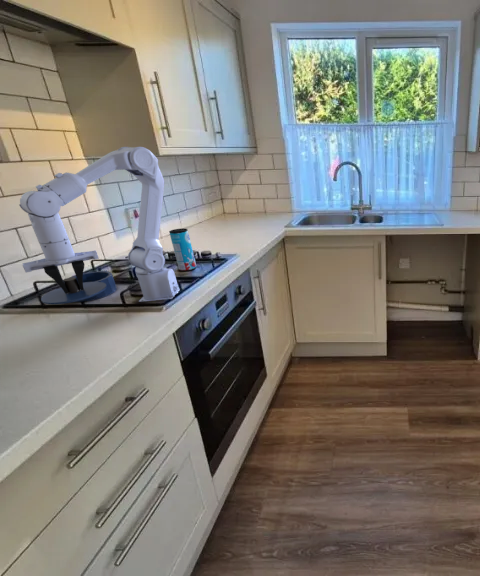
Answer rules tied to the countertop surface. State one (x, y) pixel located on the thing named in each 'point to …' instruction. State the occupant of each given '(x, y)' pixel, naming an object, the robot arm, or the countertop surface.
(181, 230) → the beverage can
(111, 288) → the tin
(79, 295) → the tin lid
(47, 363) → the countertop surface
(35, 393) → the countertop surface
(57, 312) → the countertop surface
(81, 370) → the countertop surface
